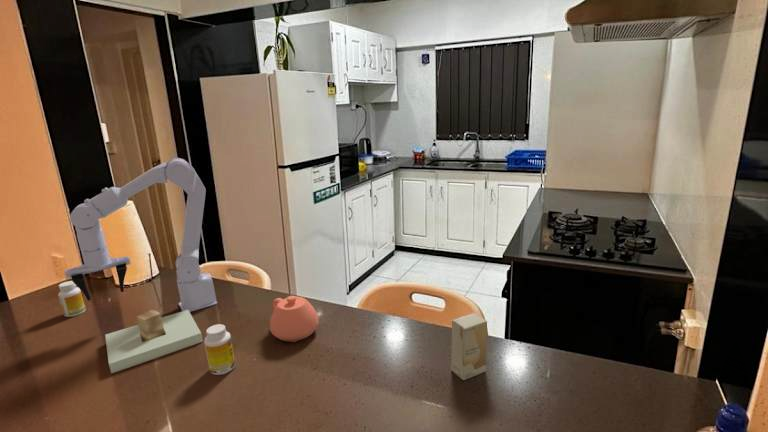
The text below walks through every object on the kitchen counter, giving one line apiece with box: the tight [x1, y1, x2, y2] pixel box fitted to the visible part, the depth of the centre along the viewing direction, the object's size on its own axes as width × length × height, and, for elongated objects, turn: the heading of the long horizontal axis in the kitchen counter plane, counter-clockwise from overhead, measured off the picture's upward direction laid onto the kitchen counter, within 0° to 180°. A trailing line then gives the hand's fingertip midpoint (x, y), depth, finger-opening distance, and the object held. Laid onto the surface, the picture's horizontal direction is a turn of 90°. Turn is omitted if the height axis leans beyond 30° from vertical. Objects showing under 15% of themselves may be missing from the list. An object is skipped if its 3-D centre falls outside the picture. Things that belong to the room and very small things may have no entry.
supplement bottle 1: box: [58, 280, 87, 318], centre depth 124 cm, size 5×5×10 cm
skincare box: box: [450, 312, 488, 381], centre depth 88 cm, size 6×4×12 cm
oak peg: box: [136, 309, 165, 342], centre depth 106 cm, size 4×4×8 cm
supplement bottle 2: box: [203, 323, 236, 376], centre depth 94 cm, size 6×6×10 cm
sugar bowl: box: [269, 295, 320, 343], centre depth 107 cm, size 12×14×10 cm
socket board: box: [104, 310, 204, 374], centre depth 107 cm, size 20×16×2 cm
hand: (106, 294), depth 114 cm, fingers open, 7 cm apart
